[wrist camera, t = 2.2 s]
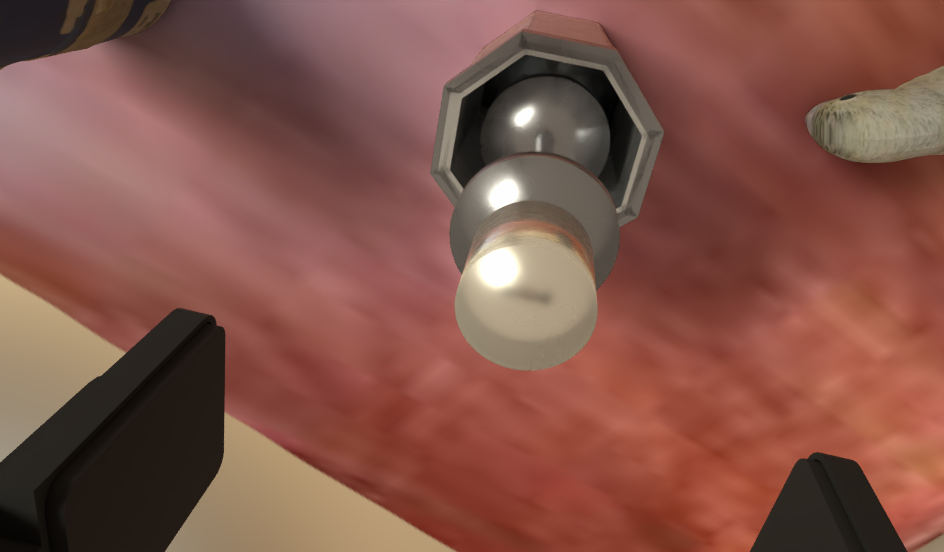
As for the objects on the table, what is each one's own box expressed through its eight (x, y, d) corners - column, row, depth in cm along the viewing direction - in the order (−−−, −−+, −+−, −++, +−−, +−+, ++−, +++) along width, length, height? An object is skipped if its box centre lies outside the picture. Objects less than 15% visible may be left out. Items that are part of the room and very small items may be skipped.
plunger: (495, 61, 29) (427, 176, 15) (624, 87, 29) (677, 229, 15) (472, 184, 32) (396, 379, 18) (590, 209, 31) (609, 426, 17)
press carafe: (487, -6, 37) (454, 17, 26) (651, 27, 36) (685, 64, 26) (453, 188, 42) (414, 274, 31) (597, 218, 42) (606, 315, 31)
